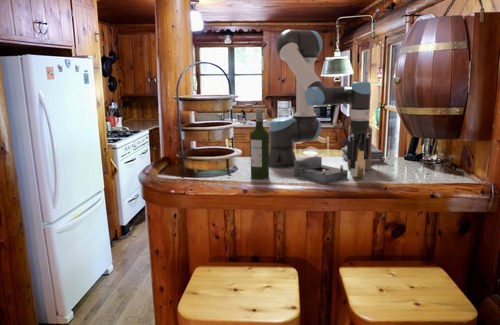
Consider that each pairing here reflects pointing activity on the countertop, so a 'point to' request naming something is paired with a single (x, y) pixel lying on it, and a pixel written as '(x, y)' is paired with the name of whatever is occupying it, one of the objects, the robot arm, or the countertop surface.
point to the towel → (375, 154)
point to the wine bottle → (259, 149)
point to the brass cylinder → (359, 165)
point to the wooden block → (368, 161)
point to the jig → (318, 170)
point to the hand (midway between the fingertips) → (357, 174)
